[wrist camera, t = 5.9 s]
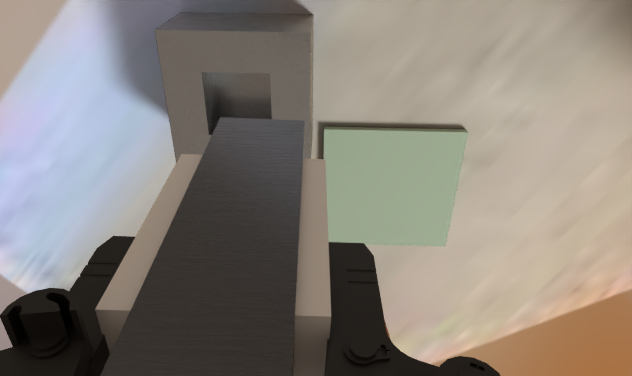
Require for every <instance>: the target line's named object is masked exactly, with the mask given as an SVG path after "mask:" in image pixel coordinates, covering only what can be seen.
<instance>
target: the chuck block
mask: <svg viewBox="0 0 632 376" xmlns="http://www.w3.org/2000/svg"><path fill="white" fill-rule="evenodd" d="M155 35H156V41H157V48H158V54H159V60H160V66H161V72H162V78H163V84H164V91H165V97H166V103H167V109H168V115H169V121H170V127H171V133H172V140H173V146H174V152H175V158H176V163H177V161H178V160H179V158H180V156H181V154H197V155H203V153H204V151H205V149H206V147H207V145H208V143H209V140H210V138H211V136H212V134H213V132H214V130H215V128H216V125H217V123H218V121H219V119H220V117H226V118H252V119H279V120H305V130H304V158H305V159H311V149H312V121H313V15H287V14H228V13H179V14H178V15H176V16H175V17H173V18H172V19H170V20H169V21H167V22H166V23H164V24H163V25H161V26H160V27H158V28H157V29H155Z"/></svg>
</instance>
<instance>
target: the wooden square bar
mask: <svg viewBox="0 0 632 376" xmlns="http://www.w3.org/2000/svg"><path fill="white" fill-rule="evenodd" d="M304 130H305V120H279V119H252V118H226V117H220V119H219V121H218V123H217V125H216V128H215V130H214V132H213V134H212V136H211V138H210V140H209V143H208V145H207V147H206V149H205V151H204V153H203V156H202V158H201V160H200V162H199V164H198V166H197V168H196V171H195V173H194V175H193V177H192V179H191V181H190V183H189V186H188V188H187V190H186V192H185V194H184V196H183V199H182V201H181V203H180V205H179V207H178V209H177V211H176V214H175V216H174V218H173V220H172V222H171V224H170V227H169V229H168V231H167V233H166V235H165V237H164V239H163V242H162V244H161V246H160V248H159V250H158V252H157V255H156V257H155V259H154V261H153V263H152V265H151V267H150V270H149V272H148V274H147V276H146V278H145V280H144V282H143V285H142V287H141V289H140V291H139V293H138V295H137V298H136V300H135V302H134V304H133V306H132V308H131V310H130V313H129V315H128V317H127V319H126V321H125V323H124V326H123V328H122V330H121V332H120V334H119V336H118V338H117V341H116V343H115V345H114V347H113V349H112V351H111V354H110V356H109V358H108V360H107V362H106V364H105V366H104V369H103V371H102V373H101V375H100V376H294V338H295V307H296V287H297V267H298V247H299V228H300V208H301V188H302V168H303V158H304Z"/></svg>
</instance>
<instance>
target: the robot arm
mask: <svg viewBox="0 0 632 376" xmlns="http://www.w3.org/2000/svg"><path fill="white" fill-rule="evenodd" d="M202 156H203V155H197V154H181V156H180V158H179V160H178V161H177V163H176V165H175V167H174V169H173V170H172V172H171V174H170V176H169V178H168V179H167V181H166V183H165V185H164V186H163V188H162V190H161V192H160V194H159V195H158V197H157V199H156V201H155V203H154V204H153V206H152V208H151V210H150V212H149V213H148V215H147V217H146V219H145V221H144V222H143V224H142V226H141V228H140V230H139V231H138V233H137V235H136V237H126V236H113V237H111V238H110V239H109V240H107V241H106V242H105V243H103V244H102V245H101V246H100V247H98V248H97V249H96V251H95V252H94V254H93V256H92V257H91V259H90V260H89V262H88V265H86V266H85V268H84V269H83V271H82V272H81V274H80V277H78V279H77V280H76V282H75V283H74V285H73V286H72V288H71V289H70V291H67V290H65V289H58V288H48V289H43V290H37V291H34V292H32V293H29V294H27V295H24V296H22V297H20V298H19V299H17V300H16V301H14V302H13V303H11V304H10V305H9V306H7V308H6V309H5V310H4V311H3V312H2V314H1V315H0V318H1V320H2V323H3V325H4V327H5V329H6V331H7V334H8V336H9V339H10V341H11V343H12V345H13V347H12V348H8V349H5V350H2V351H0V376H100V375H101V373H102V371H103V369H104V366H105V364H106V362H107V360H108V358H109V356H110V354H111V351H112V349H113V347H114V345H115V343H116V341H117V338H118V336H119V334H120V332H121V330H122V328H123V326H124V323H125V321H126V319H127V317H128V315H129V313H130V310H131V308H132V306H133V304H134V302H135V300H136V298H137V295H138V293H139V291H140V289H141V287H142V285H143V282H144V280H145V278H146V276H147V274H148V272H149V270H150V267H151V265H152V263H153V261H154V259H155V257H156V255H157V252H158V250H159V248H160V246H161V244H162V242H163V239H164V237H165V235H166V233H167V231H168V229H169V227H170V224H171V222H172V220H173V218H174V216H175V214H176V211H177V209H178V207H179V205H180V203H181V201H182V199H183V196H184V194H185V192H186V190H187V188H188V186H189V183H190V181H191V179H192V177H193V175H194V173H195V171H196V168H197V166H198V164H199V162H200V160H201V158H202ZM294 376H500V374H499V373H498V372H497V371H496V370H494V369H493V368H492V367H491V366H489V365H488V364H487V363H485V362H482V361H479V360H477V359H475V358H471V357H462V356H458V357H454V358H450V359H447V360H446V361H445V362H444V363H443V364H441V365H440V367H437V366H434V365H431V364H428V363H425V362H422V361H418V360H416V359H414V358H411V357H409V356H407V355H406V354H404V353H403V352H401V351H400V350H399V349H398V348H397V347H396V346H395V345H394V344H393V343H392V342H391V340H390V338H389V337H388V334H387V331H386V327H385V321H384V315H383V309H382V304H381V298H380V292H379V286H378V280H377V274H376V268H375V262H374V256H373V255H372V253H371V252H370V251H369V249H368V248H367V247H366V246H365V244H364V243H345V242H328V216H327V190H326V163H325V159H305V158H303V168H302V188H301V208H300V228H299V247H298V267H297V287H296V307H295V338H294Z"/></svg>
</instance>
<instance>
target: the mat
mask: <svg viewBox="0 0 632 376" xmlns="http://www.w3.org/2000/svg"><path fill="white" fill-rule="evenodd" d="M467 134H468V132H467V130H466V129H419V128H371V127H324V158H323V159H325V163H326V190H327V216H328V242H345V243H364V244H367V245H408V246H446V241H447V236H448V231H449V226H450V221H451V215H452V210H453V205H454V200H455V195H456V190H457V185H458V180H459V175H460V170H461V165H462V160H463V155H464V149H465V144H466V139H467Z"/></svg>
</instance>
